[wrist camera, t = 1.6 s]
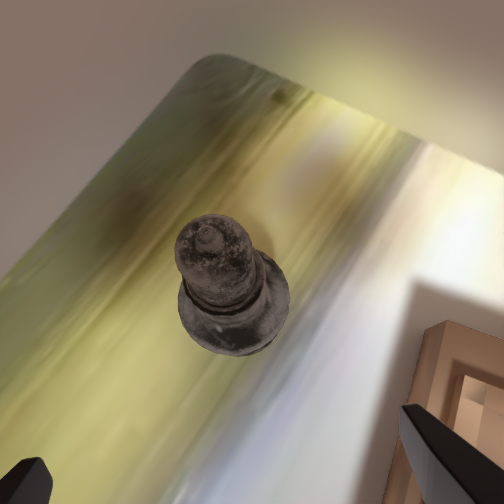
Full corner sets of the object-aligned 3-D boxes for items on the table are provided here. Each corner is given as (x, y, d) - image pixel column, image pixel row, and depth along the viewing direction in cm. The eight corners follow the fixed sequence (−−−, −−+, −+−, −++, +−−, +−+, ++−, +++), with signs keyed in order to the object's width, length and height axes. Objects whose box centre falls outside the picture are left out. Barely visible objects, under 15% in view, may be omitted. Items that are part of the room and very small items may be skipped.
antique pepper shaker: (242, 248, 24) (212, 122, 13) (308, 312, 23) (338, 229, 11) (172, 310, 23) (75, 229, 12) (236, 384, 21) (192, 368, 10)
